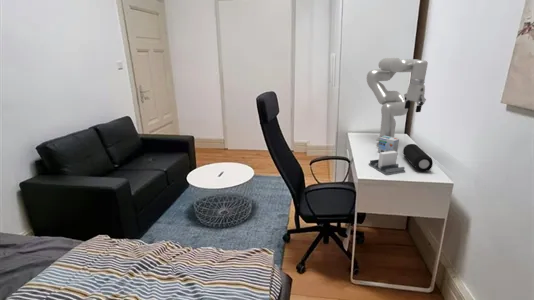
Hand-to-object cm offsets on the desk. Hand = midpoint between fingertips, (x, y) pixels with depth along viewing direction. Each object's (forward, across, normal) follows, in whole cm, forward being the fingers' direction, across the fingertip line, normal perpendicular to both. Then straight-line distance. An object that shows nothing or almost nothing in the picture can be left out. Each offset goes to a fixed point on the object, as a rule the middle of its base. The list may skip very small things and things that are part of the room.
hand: (412, 110), depth 180 cm
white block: (+29, -14, +24) cm, 40 cm away
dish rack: (+30, -14, +24) cm, 41 cm away
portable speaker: (+31, -14, +3) cm, 34 cm away
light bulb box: (+31, +8, +7) cm, 33 cm away
